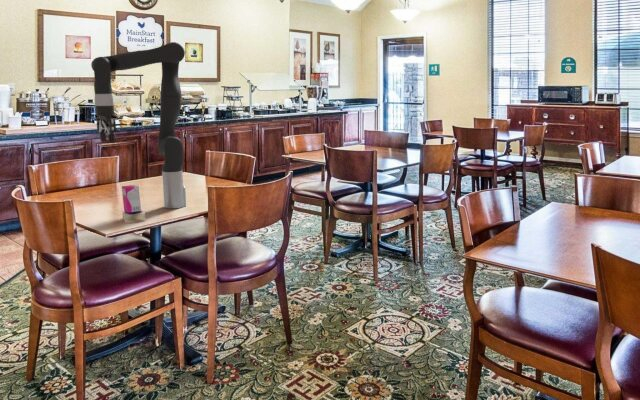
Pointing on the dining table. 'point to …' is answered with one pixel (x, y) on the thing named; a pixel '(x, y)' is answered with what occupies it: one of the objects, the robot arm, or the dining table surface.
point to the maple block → (133, 217)
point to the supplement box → (131, 199)
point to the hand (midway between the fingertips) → (107, 142)
